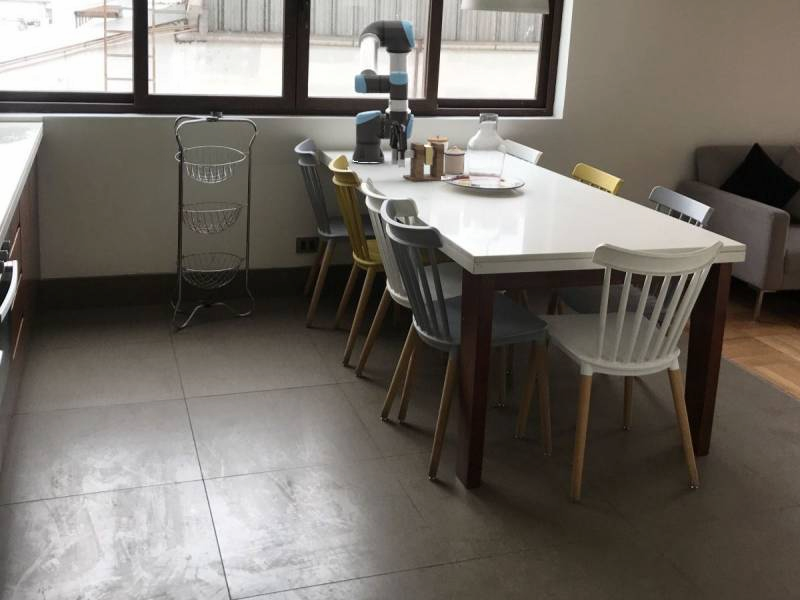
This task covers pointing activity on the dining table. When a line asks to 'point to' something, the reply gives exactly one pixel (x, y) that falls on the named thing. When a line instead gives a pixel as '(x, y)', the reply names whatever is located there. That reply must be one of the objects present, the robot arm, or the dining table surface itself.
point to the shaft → (409, 153)
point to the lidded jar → (439, 139)
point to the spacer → (428, 155)
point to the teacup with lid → (454, 161)
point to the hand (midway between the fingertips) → (398, 165)
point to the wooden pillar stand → (418, 164)
